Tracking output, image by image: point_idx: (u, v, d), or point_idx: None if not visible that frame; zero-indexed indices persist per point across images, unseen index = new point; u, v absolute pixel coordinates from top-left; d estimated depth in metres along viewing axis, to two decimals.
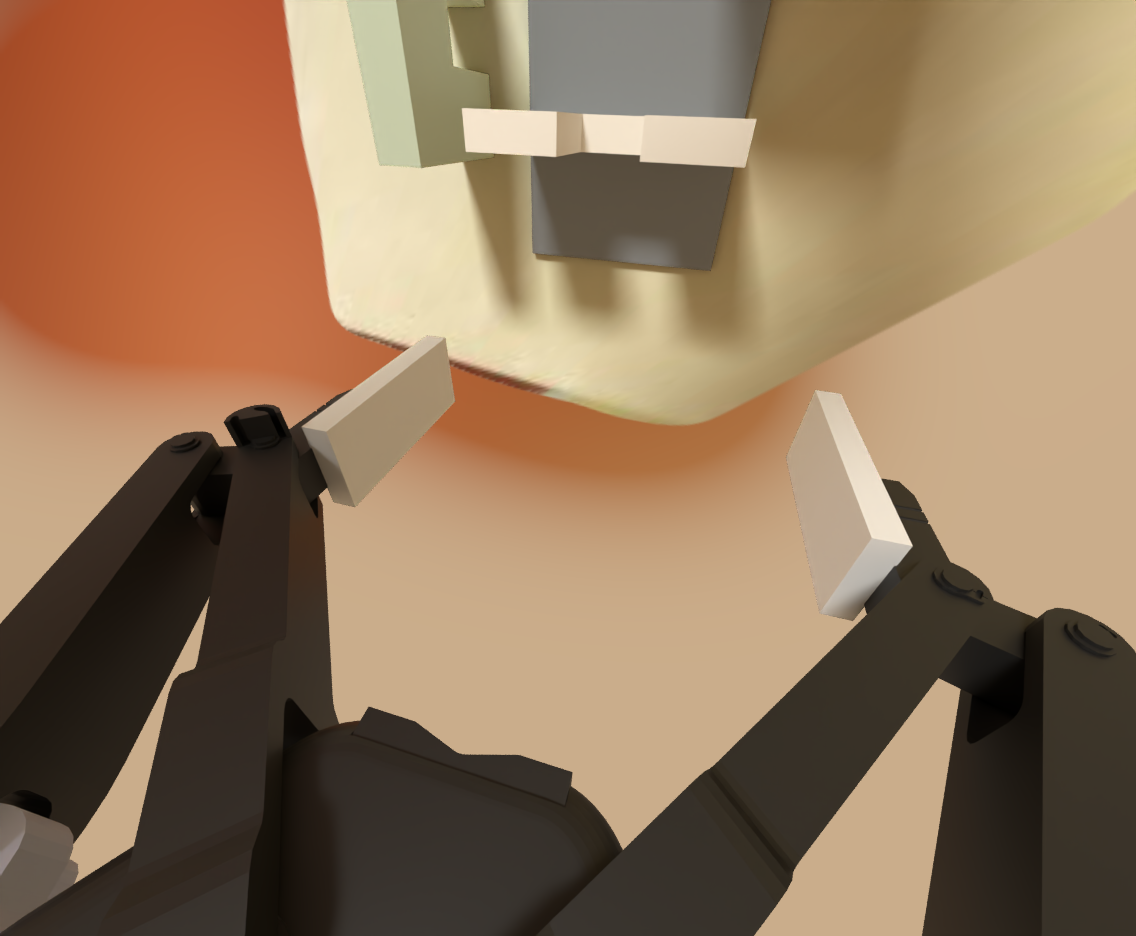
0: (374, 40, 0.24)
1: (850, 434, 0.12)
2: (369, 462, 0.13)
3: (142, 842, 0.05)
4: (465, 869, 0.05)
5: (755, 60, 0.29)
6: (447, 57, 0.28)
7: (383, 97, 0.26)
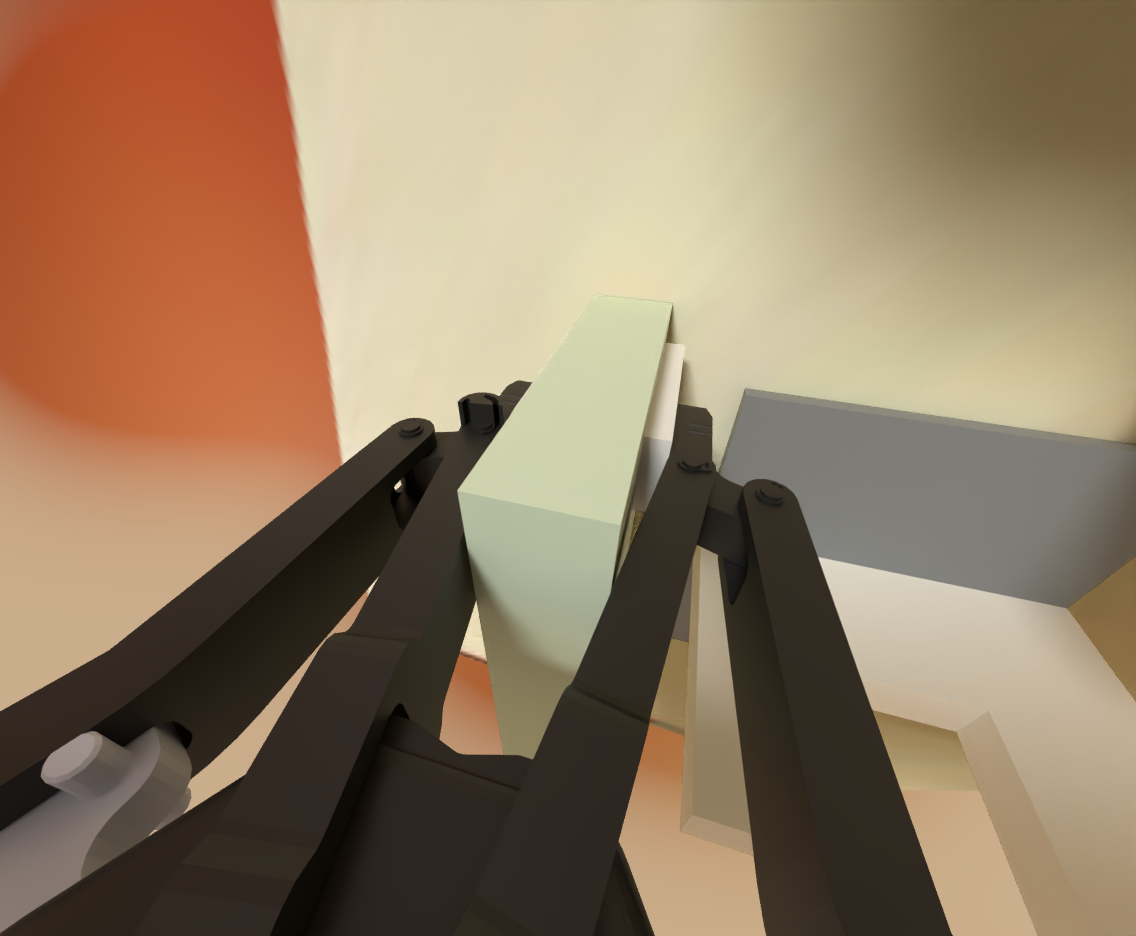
0: (534, 706, 0.13)
1: (673, 372, 0.14)
2: None
3: (241, 794, 0.05)
4: (465, 869, 0.05)
5: (1121, 562, 0.17)
6: None
7: (532, 737, 0.14)
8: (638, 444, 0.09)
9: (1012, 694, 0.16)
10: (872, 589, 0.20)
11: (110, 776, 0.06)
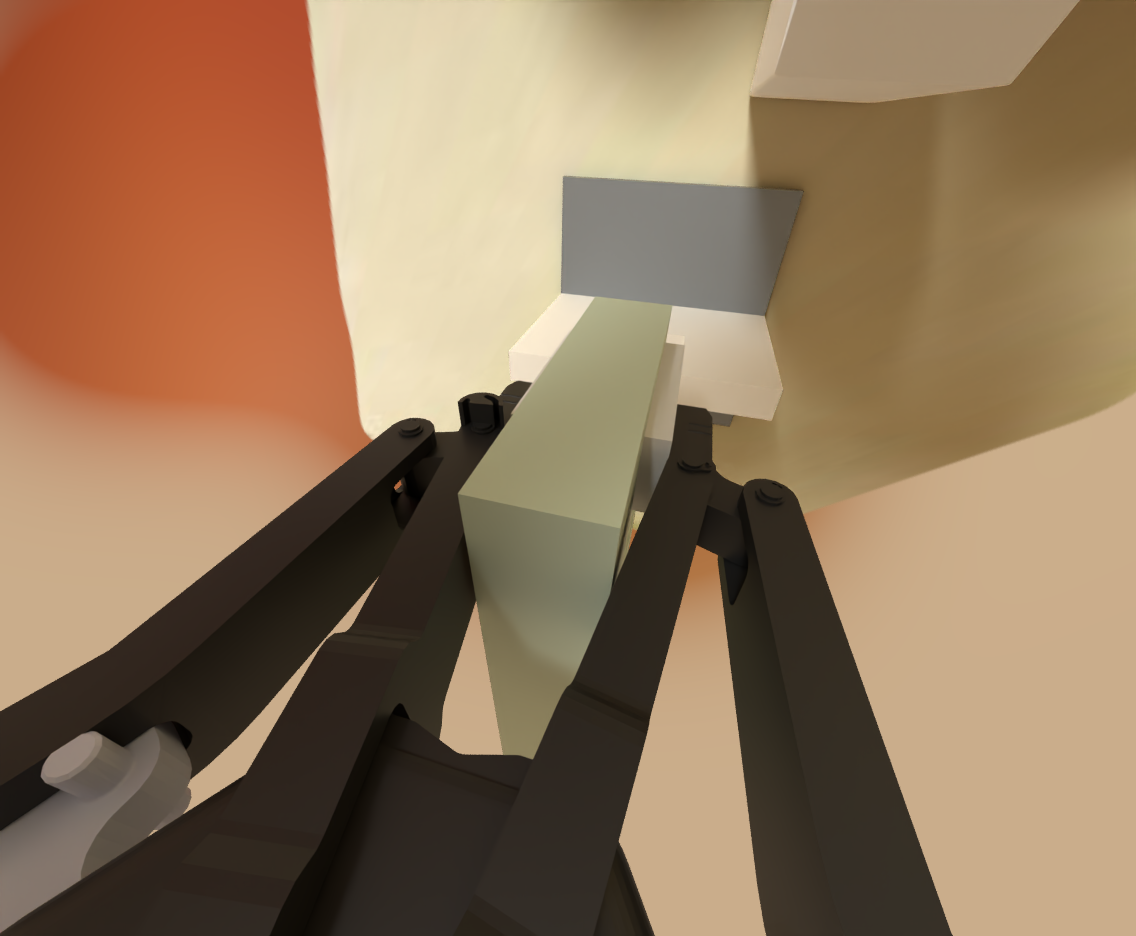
0: (533, 707, 0.13)
1: (673, 372, 0.14)
2: None
3: (241, 793, 0.05)
4: (466, 869, 0.05)
5: (776, 271, 0.31)
6: None
7: (532, 738, 0.14)
8: (638, 447, 0.09)
9: (703, 333, 0.30)
10: None
11: (111, 775, 0.06)
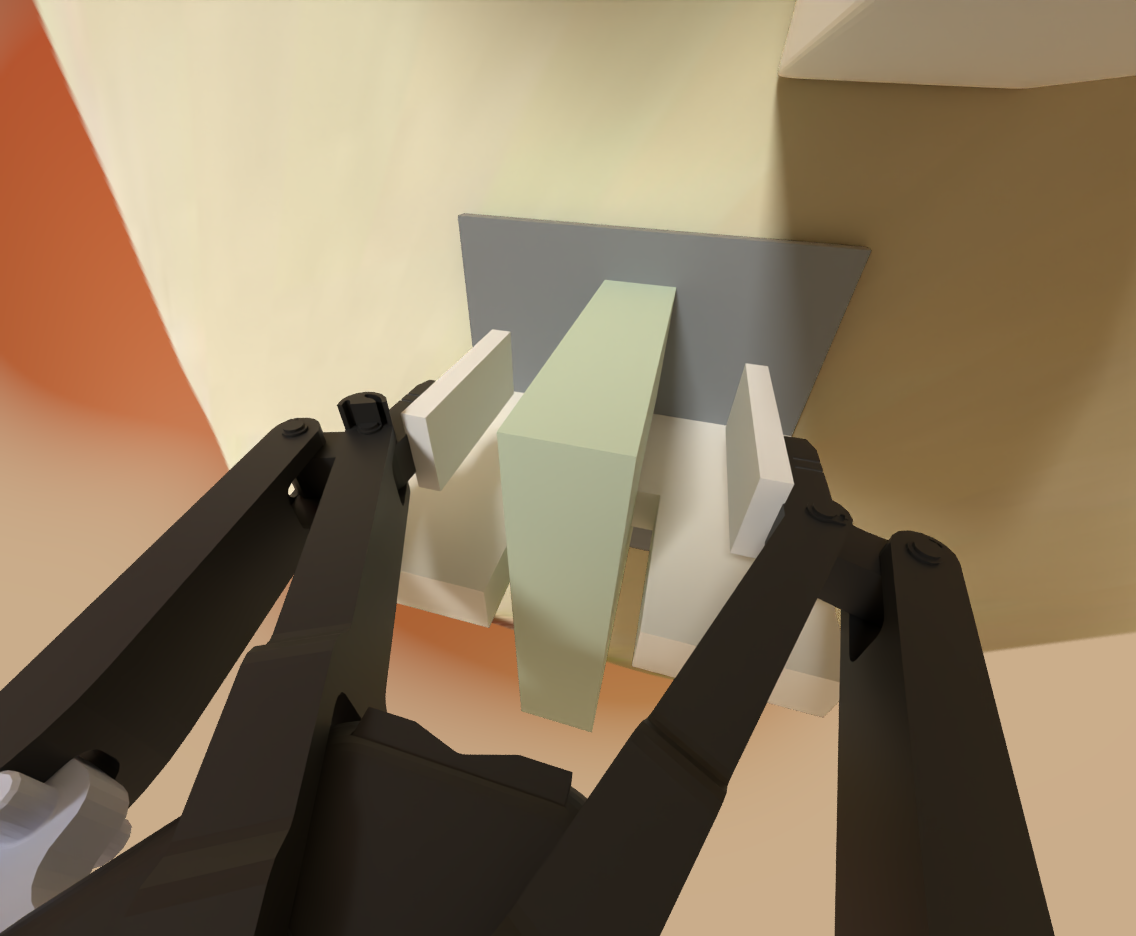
0: (552, 646, 0.14)
1: (766, 399, 0.13)
2: (452, 449, 0.14)
3: (189, 813, 0.05)
4: (465, 869, 0.05)
5: (814, 374, 0.18)
6: (627, 544, 0.18)
7: (549, 681, 0.16)
8: (649, 398, 0.11)
9: (692, 486, 0.17)
10: None
11: (38, 809, 0.06)
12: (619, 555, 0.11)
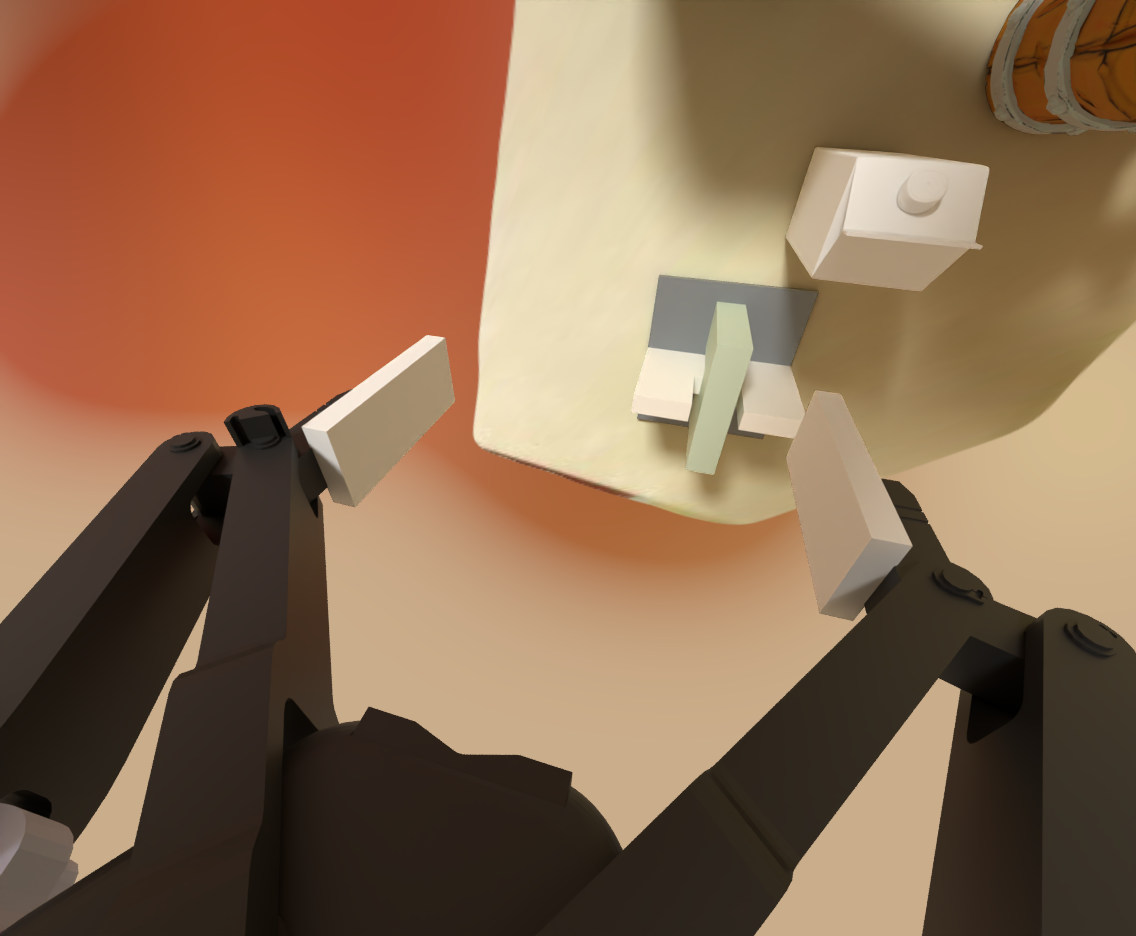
0: (710, 426, 0.42)
1: (850, 434, 0.12)
2: (369, 462, 0.13)
3: (142, 842, 0.05)
4: (465, 869, 0.05)
5: (799, 339, 0.47)
6: None
7: (703, 446, 0.44)
8: (751, 338, 0.39)
9: (752, 380, 0.46)
10: None
11: None
12: (742, 381, 0.39)
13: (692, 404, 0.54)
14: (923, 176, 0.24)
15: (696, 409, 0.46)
